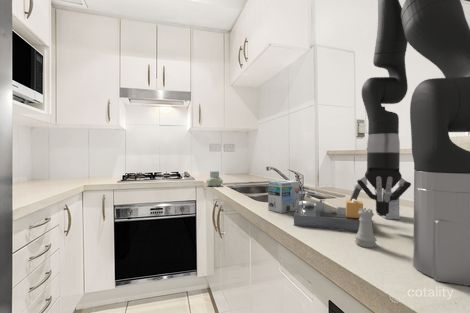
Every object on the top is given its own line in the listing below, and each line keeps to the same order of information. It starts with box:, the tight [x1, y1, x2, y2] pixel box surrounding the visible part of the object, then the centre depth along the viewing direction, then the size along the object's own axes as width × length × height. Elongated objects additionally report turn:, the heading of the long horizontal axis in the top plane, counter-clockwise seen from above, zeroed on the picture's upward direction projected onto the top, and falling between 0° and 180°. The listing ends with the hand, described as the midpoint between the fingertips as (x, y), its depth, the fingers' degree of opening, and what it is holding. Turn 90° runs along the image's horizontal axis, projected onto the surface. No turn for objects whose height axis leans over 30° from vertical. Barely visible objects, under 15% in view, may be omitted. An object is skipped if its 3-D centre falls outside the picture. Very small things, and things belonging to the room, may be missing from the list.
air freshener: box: [205, 170, 223, 187], centre depth 164 cm, size 11×8×10 cm
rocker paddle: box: [303, 194, 338, 212], centre depth 77 cm, size 4×10×1 cm, turn 70°
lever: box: [349, 182, 363, 201], centre depth 78 cm, size 3×3×9 cm
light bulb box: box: [267, 179, 301, 214], centre depth 91 cm, size 11×7×11 cm, turn 129°
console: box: [293, 198, 374, 233], centre depth 75 cm, size 17×20×6 cm
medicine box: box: [375, 189, 401, 220], centre depth 82 cm, size 8×4×9 cm, turn 168°
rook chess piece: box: [354, 207, 378, 249], centre depth 55 cm, size 4×4×8 cm
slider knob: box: [345, 199, 364, 218], centre depth 69 cm, size 4×4×5 cm
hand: (382, 215), depth 66 cm, fingers closed
